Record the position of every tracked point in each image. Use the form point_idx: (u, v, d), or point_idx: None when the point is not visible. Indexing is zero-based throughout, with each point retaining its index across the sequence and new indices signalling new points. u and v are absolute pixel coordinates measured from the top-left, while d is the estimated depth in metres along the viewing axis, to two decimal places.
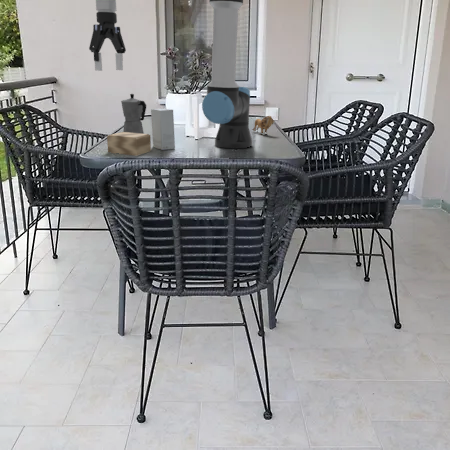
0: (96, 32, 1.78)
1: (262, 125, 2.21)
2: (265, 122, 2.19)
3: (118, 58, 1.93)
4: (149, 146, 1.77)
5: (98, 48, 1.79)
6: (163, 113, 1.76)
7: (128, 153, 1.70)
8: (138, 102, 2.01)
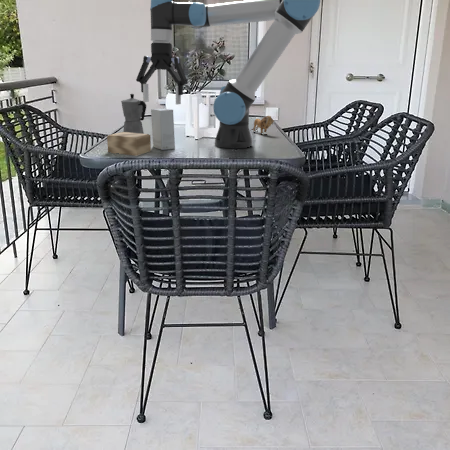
0: None
1: (262, 125, 2.21)
2: (265, 122, 2.20)
3: None
4: (149, 146, 1.77)
5: (142, 79, 1.78)
6: (163, 113, 1.76)
7: (128, 153, 1.70)
8: (138, 102, 2.01)
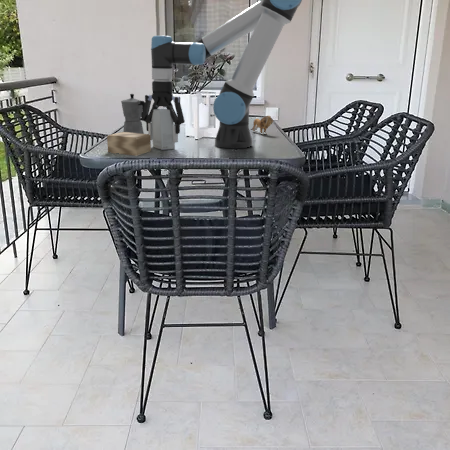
0: None
1: (261, 125, 2.22)
2: (264, 122, 2.20)
3: None
4: (149, 146, 1.77)
5: (146, 119, 1.82)
6: (162, 113, 1.76)
7: (128, 153, 1.70)
8: (138, 102, 2.01)
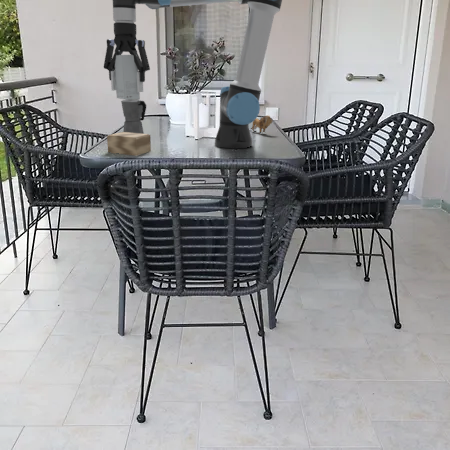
0: None
1: (261, 125, 2.22)
2: (264, 122, 2.21)
3: None
4: (149, 146, 1.77)
5: (109, 66, 1.67)
6: (125, 58, 1.61)
7: (128, 153, 1.70)
8: (138, 102, 2.01)
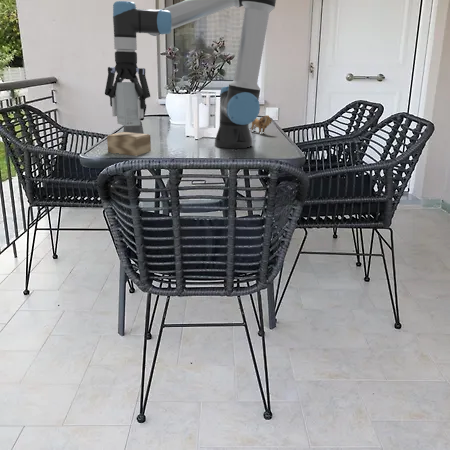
0: None
1: (260, 124, 2.23)
2: (263, 121, 2.21)
3: None
4: (149, 146, 1.77)
5: (110, 93, 1.69)
6: (126, 86, 1.64)
7: (128, 153, 1.70)
8: None
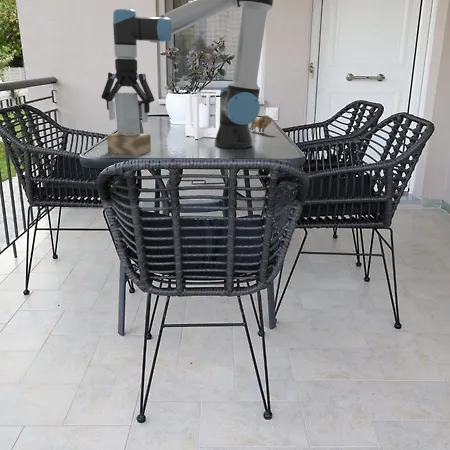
0: None
1: (260, 124, 2.23)
2: (263, 121, 2.22)
3: None
4: (149, 146, 1.77)
5: (107, 97, 1.70)
6: (126, 96, 1.65)
7: (128, 153, 1.70)
8: (138, 102, 2.01)
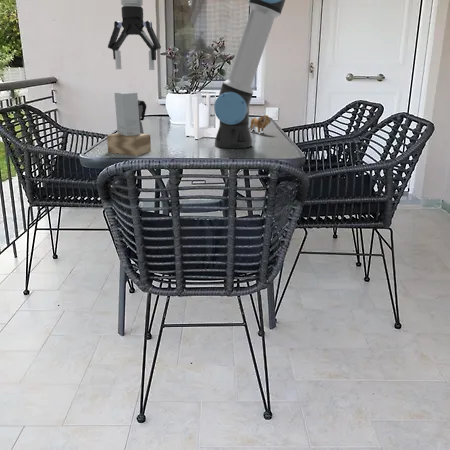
0: None
1: (259, 124, 2.23)
2: (262, 121, 2.22)
3: None
4: (149, 146, 1.77)
5: (113, 46, 1.74)
6: (126, 96, 1.65)
7: (128, 153, 1.70)
8: (138, 102, 2.01)
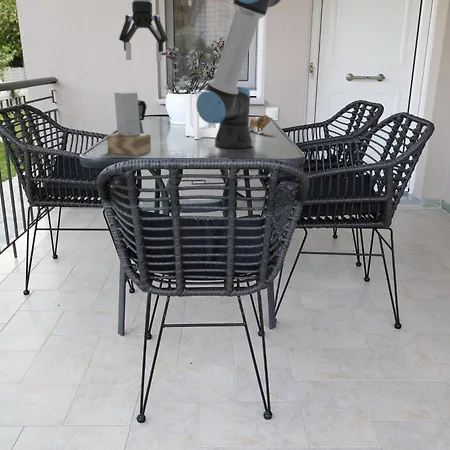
0: None
1: (258, 124, 2.24)
2: (261, 121, 2.23)
3: None
4: (149, 146, 1.77)
5: (124, 38, 1.87)
6: (126, 96, 1.65)
7: (128, 153, 1.70)
8: (138, 102, 2.01)
